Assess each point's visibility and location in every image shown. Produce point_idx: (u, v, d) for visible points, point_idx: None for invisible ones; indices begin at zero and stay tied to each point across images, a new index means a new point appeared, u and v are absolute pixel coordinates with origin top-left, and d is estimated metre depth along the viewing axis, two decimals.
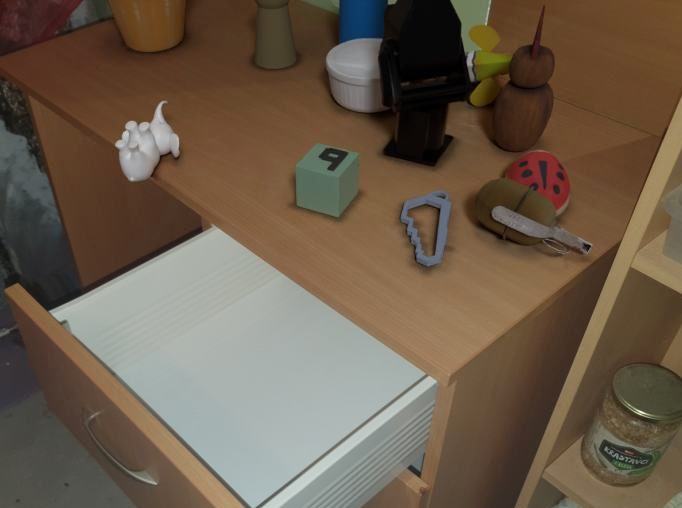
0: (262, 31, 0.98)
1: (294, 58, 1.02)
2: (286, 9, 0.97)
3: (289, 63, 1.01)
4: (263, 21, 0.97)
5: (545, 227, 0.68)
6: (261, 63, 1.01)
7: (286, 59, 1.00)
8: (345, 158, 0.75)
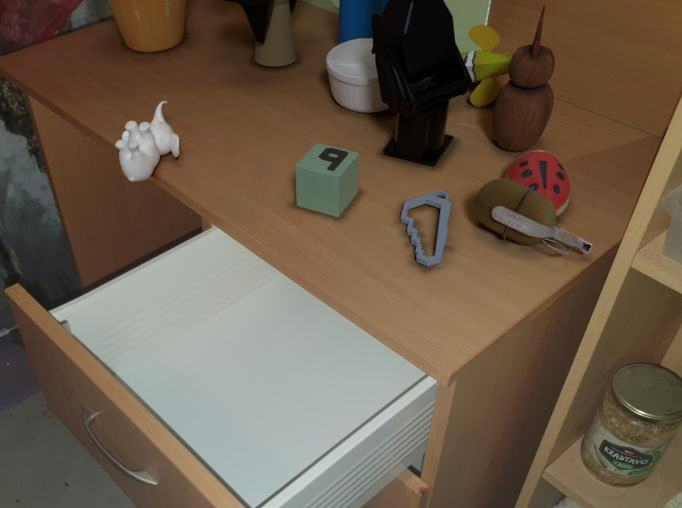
0: None
1: (294, 57, 1.02)
2: (287, 6, 0.97)
3: (289, 61, 1.01)
4: None
5: (545, 227, 0.68)
6: (261, 61, 1.01)
7: (286, 56, 1.00)
8: (345, 158, 0.75)
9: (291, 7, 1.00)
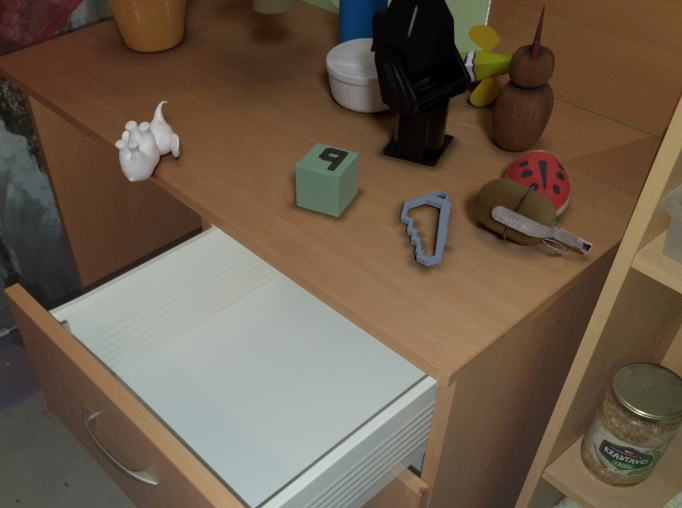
0: None
1: (294, 2, 0.94)
2: None
3: (289, 7, 0.93)
4: None
5: (545, 227, 0.68)
6: (258, 8, 0.93)
7: (286, 2, 0.92)
8: (345, 158, 0.75)
9: None
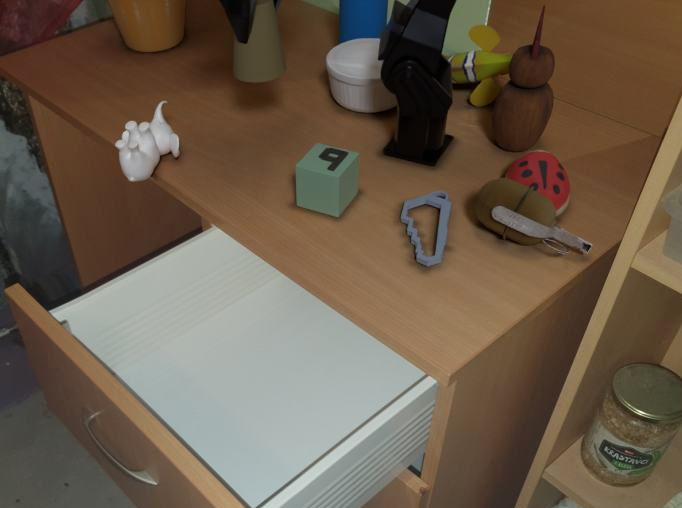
0: None
1: (283, 69, 0.80)
2: (270, 5, 0.75)
3: (276, 75, 0.79)
4: None
5: (545, 227, 0.68)
6: (240, 75, 0.79)
7: (272, 69, 0.78)
8: (345, 158, 0.75)
9: (274, 5, 0.77)
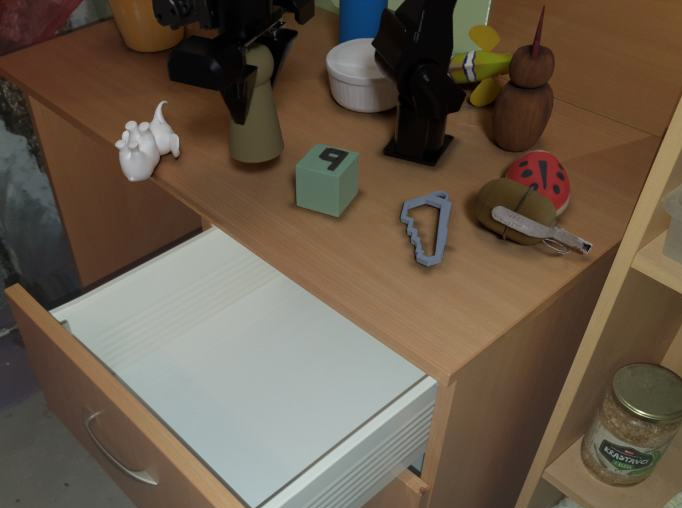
0: None
1: (280, 148, 0.77)
2: (267, 87, 0.73)
3: (274, 154, 0.77)
4: None
5: (545, 227, 0.68)
6: (237, 155, 0.77)
7: (269, 149, 0.76)
8: (345, 158, 0.75)
9: (271, 84, 0.75)
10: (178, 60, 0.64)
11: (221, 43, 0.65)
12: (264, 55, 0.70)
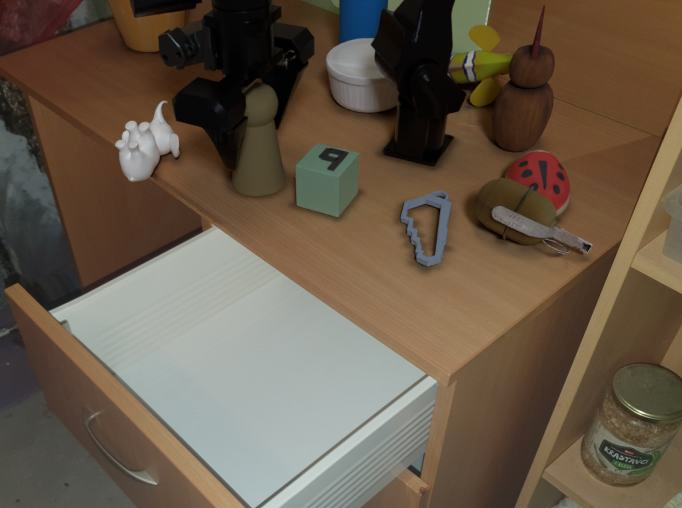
0: (241, 152, 0.77)
1: (282, 181, 0.80)
2: (271, 126, 0.76)
3: (275, 188, 0.80)
4: None
5: (545, 227, 0.68)
6: (240, 188, 0.80)
7: (272, 184, 0.79)
8: (345, 158, 0.75)
9: (282, 111, 0.79)
10: (183, 102, 0.67)
11: (225, 86, 0.68)
12: (269, 96, 0.73)
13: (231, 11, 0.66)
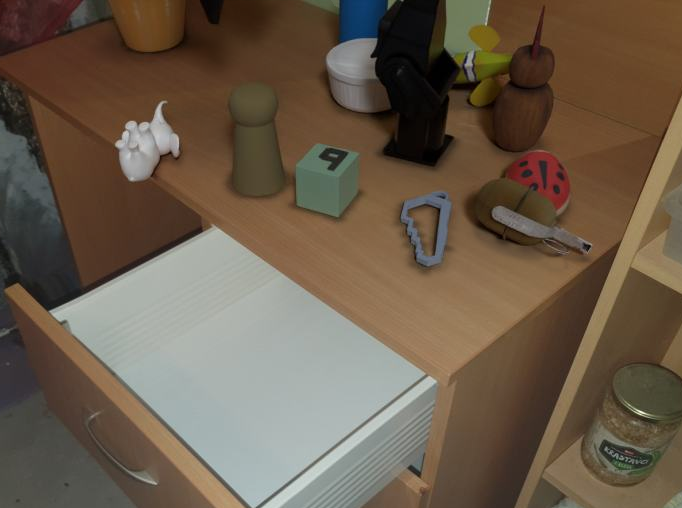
0: (241, 152, 0.77)
1: (282, 182, 0.80)
2: (271, 126, 0.76)
3: (275, 188, 0.80)
4: (242, 140, 0.76)
5: (545, 227, 0.68)
6: (240, 188, 0.80)
7: (271, 184, 0.79)
8: (345, 158, 0.75)
9: None
10: None
11: None
12: (270, 96, 0.73)
13: None
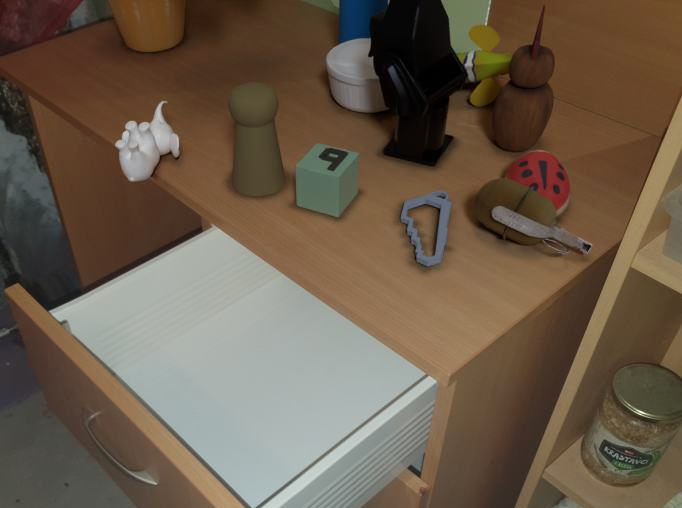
0: (241, 152, 0.77)
1: (282, 182, 0.80)
2: (271, 126, 0.76)
3: (275, 188, 0.80)
4: (242, 140, 0.76)
5: (545, 227, 0.68)
6: (240, 188, 0.80)
7: (272, 184, 0.79)
8: (345, 158, 0.75)
9: None
10: None
11: None
12: (270, 96, 0.73)
13: None
